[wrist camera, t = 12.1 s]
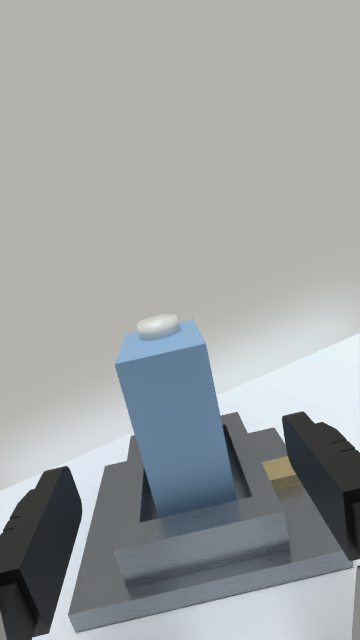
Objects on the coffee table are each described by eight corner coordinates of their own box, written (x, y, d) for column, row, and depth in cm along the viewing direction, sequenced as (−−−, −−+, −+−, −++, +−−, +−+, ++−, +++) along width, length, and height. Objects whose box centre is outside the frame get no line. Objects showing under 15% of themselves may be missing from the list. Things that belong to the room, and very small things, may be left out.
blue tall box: (165, 542, 17) (110, 348, 14) (163, 476, 22) (122, 322, 19) (241, 523, 17) (202, 327, 14) (222, 462, 22) (190, 306, 19)
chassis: (75, 632, 15) (51, 576, 14) (109, 478, 24) (96, 439, 23) (352, 566, 15) (347, 508, 14) (276, 440, 24) (270, 400, 23)
